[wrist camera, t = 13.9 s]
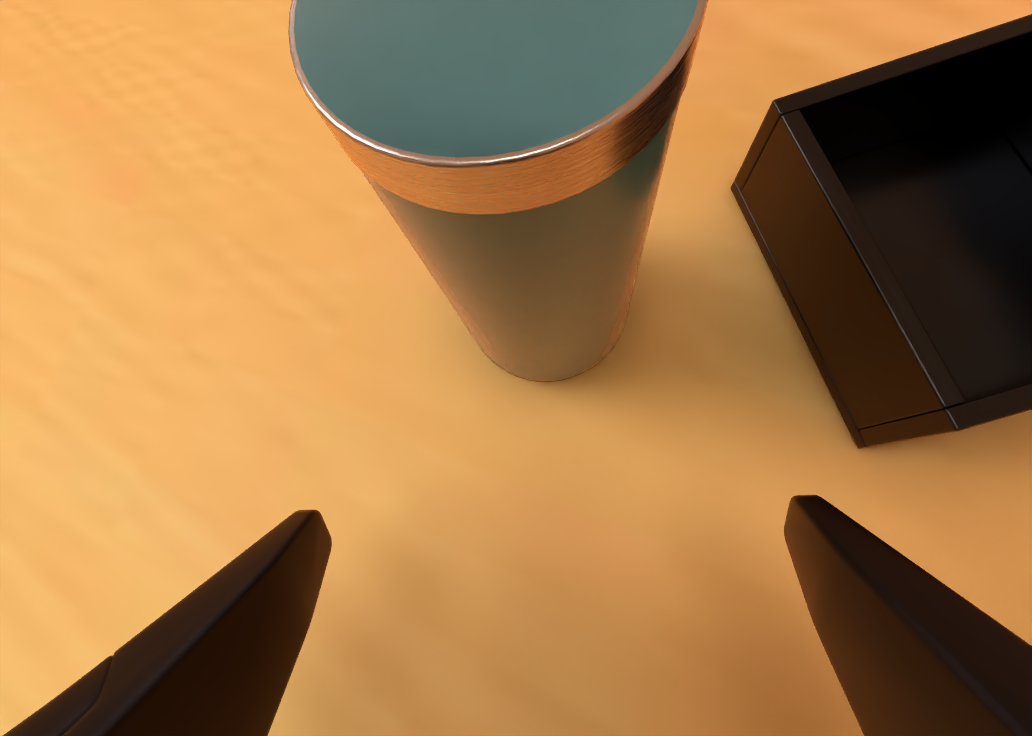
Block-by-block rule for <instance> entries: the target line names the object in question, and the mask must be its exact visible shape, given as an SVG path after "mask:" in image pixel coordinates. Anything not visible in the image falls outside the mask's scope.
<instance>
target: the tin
mask: <svg viewBox="0 0 1032 736" xmlns="http://www.w3.org/2000/svg"><path fill="white" fill-rule="evenodd" d="M707 3H708V0H292V4H291V8H290V15H289V42H290V52H291V57H292V61H293V64H294V68H295V71H296V75H297V77H298V79H299V81H300V84H301V86H302V88H303V90H304V92H305V94H306V96H307V97H308V99H309V100H310V101H311V103H312V104H313V106H314V107H315V109H316V110H317V112H318V113H319V115H320V116H321V117H322V119H323V120H324V122H325V123H326V125H327V126H328V128H329V129H330V131H331V132H332V134H333V135H334V136H335V138H336V139H337V141H338V142H339V144H340V145H341V147H342V148H343V149H344V151H345V152H346V154H347V155H348V156H349V158H350V159H351V161H352V162H353V163H354V164H355V165H356V166H357V167H358V168H359V169H360V170H361V171H362V172H363V174H364V175H365V177H366V178H367V180H368V181H369V183H370V184H371V186H372V187H373V189H374V190H375V192H376V193H377V195H378V196H379V198H380V199H381V201H382V202H383V204H384V205H385V207H386V208H387V210H388V211H389V213H390V214H391V215H392V217H393V218H394V220H395V221H396V223H397V224H398V226H399V227H400V229H401V230H402V232H403V233H404V235H405V236H406V238H407V239H408V241H409V242H410V244H411V245H412V247H413V248H414V250H415V251H416V253H417V254H418V255H419V257H420V258H421V260H422V261H423V263H424V264H425V266H426V267H427V269H428V270H429V272H430V273H431V275H432V276H433V278H434V279H435V281H436V282H437V284H438V285H439V287H440V288H441V290H442V291H443V293H444V294H445V295H446V297H447V298H448V300H449V301H450V303H451V304H452V306H453V307H454V309H455V310H456V312H457V313H458V315H459V316H460V318H461V319H462V321H463V322H464V324H465V325H466V327H467V328H468V330H469V331H470V333H471V334H472V336H473V337H474V338H475V340H476V341H477V343H478V344H479V346H480V347H481V349H482V350H483V351H484V353H485V354H486V355H487V356H488V357H489V358H490V359H491V361H493V362H494V363H495V364H496V365H498V366H499V367H500V368H502V369H504V370H505V371H507V372H509V373H511V374H513V375H515V376H518V377H521V378H525V379H529V380H535V381H555V380H562V379H566V378H570V377H573V376H576V375H578V374H581V373H583V372H585V371H587V370H588V369H590V368H592V367H593V366H594V365H596V364H597V363H599V362H600V361H601V360H602V359H603V358H604V357H605V356H606V355H607V354H608V353H609V352H610V351H611V349H612V348H613V347H614V345H615V344H616V342H617V340H618V339H619V337H620V334H621V332H622V330H623V327H624V323H625V320H626V316H627V312H628V308H629V304H630V300H631V296H632V292H633V288H634V284H635V280H636V275H637V271H638V267H639V263H640V259H641V255H642V251H643V247H644V243H645V239H646V235H647V231H648V227H649V223H650V219H651V215H652V211H653V206H654V202H655V198H656V194H657V190H658V186H659V182H660V178H661V174H662V170H663V166H664V162H665V158H666V154H667V150H668V146H669V142H670V138H671V133H672V129H673V125H674V121H675V117H676V113H677V109H678V105H679V101H680V97H681V95H682V93H683V91H684V89H685V87H686V83H687V80H688V76H689V73H690V69H691V66H692V62H693V58H694V54H695V50H696V46H697V42H698V38H699V34H700V30H701V27H702V23H703V19H704V15H705V11H706V7H707Z"/></svg>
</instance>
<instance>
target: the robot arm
mask: <svg viewBox="0 0 1032 736" xmlns="http://www.w3.org/2000/svg"><path fill="white" fill-rule="evenodd" d="M784 536H785V540H786V543H787V546H788V549H789V552H790V555H791V558H792V561H793V564H794V567H795V570H796V573H797V576H798V579H799V582H800V585H801V588H802V591H803V594H804V597H805V600H806V603H807V606H808V609H809V612H810V615H811V618H812V621H813V623H814V626H815V628H816V631H817V633H818V635H819V638H820V640H821V642H822V644H823V646H824V649H825V651H826V653H827V655H828V657H829V660H830V662H831V664H832V666H833V668H834V670H835V673H836V675H837V677H838V679H839V681H840V684H841V686H842V688H843V690H844V692H845V695H846V697H847V699H848V701H849V703H850V705H851V708H852V710H853V712H854V714H855V716H856V719H857V721H858V723H859V725H860V727H861V730H862V732H863V734H864V736H1032V646H1031V645H1030V644H1028V643H1027V642H1025V641H1024V640H1022V639H1021V638H1020V637H1018V636H1017V635H1015V634H1014V633H1013V632H1011V631H1010V630H1008V629H1007V628H1005V627H1004V626H1003V625H1001V624H1000V623H998V622H997V621H996V620H994V619H993V618H991V617H990V616H988V615H987V614H986V613H984V612H983V611H981V610H980V609H979V608H977V607H976V606H974V605H973V604H972V603H970V602H969V601H967V600H966V599H964V598H963V597H962V596H960V595H959V594H957V593H956V592H955V591H953V590H952V589H950V588H949V587H947V586H946V585H945V584H943V583H942V582H940V581H939V580H938V579H936V578H935V577H933V576H932V575H930V574H929V573H928V572H926V571H925V570H923V569H922V568H921V567H919V566H918V565H916V564H915V563H913V562H912V561H911V560H909V559H908V558H906V557H905V556H904V555H902V554H901V553H899V552H898V551H897V550H895V549H894V548H892V547H891V546H889V545H888V544H887V543H885V542H884V541H882V540H881V539H880V538H878V537H877V536H875V535H874V534H872V533H871V532H870V531H868V530H867V529H865V528H864V527H863V526H861V525H860V524H858V523H857V522H855V521H854V520H853V519H851V518H850V517H848V516H847V515H846V514H844V513H843V512H841V511H840V510H838V509H837V508H836V507H834V506H833V505H831V504H830V503H829V502H827V501H826V500H824V499H823V498H821V497H819V496H817V495H797V496H793V497H792V498H791V500H790V503H789V508H788V512H787V517H786V521H785V526H784ZM331 546H332V541H331V536H330V534H329V531H328V529H327V527H326V524H325V522H324V520H323V518H322V515H321V513H320V512H319V511H317V510H299V511H296V512H295V513H293V514H292V515H290V516H289V517H288V518H287V519H285V520H284V521H283V522H281V523H280V524H279V525H278V526H276V527H275V528H274V529H272V530H271V531H270V532H269V533H267V534H266V535H265V536H263V537H262V538H261V539H260V540H258V541H257V542H256V543H254V544H253V545H252V546H251V547H249V548H248V549H247V550H245V551H244V552H243V553H242V554H240V555H239V556H238V557H236V558H235V559H234V560H233V561H231V562H230V563H229V564H227V565H226V566H225V567H224V568H222V569H221V570H220V571H218V572H217V573H216V574H215V575H213V576H212V577H211V578H209V579H208V580H207V581H206V582H204V583H203V584H202V585H200V586H199V587H198V588H197V589H195V590H194V591H193V592H191V593H190V594H189V595H188V596H186V597H185V598H184V599H182V600H181V601H180V602H179V603H177V604H176V605H175V606H173V607H172V608H171V609H170V610H168V611H167V612H166V613H164V614H163V615H162V616H161V617H159V618H158V619H157V620H155V621H154V622H153V623H152V624H150V625H149V626H148V627H146V628H145V629H144V630H143V631H141V632H140V633H139V634H137V635H136V636H135V637H134V638H132V639H131V640H130V641H128V642H127V643H126V644H125V645H123V646H122V647H121V648H119V649H118V650H117V651H116V652H115V653H114V655H113V656H109V657H108V658H106V659H105V660H104V661H103V662H101V663H100V664H99V665H97V666H96V667H95V668H94V669H92V670H91V671H90V672H88V673H87V674H86V675H84V676H83V677H82V678H81V679H79V680H78V681H77V682H75V683H74V684H73V685H71V686H70V687H69V688H67V689H66V690H65V691H63V692H62V693H61V694H59V695H58V696H57V697H55V698H54V699H53V700H51V701H50V702H49V703H47V704H46V705H45V706H43V707H42V708H40V709H39V710H38V711H36V712H35V713H34V714H32V715H31V716H29V717H28V718H27V719H25V720H24V721H22V722H21V723H20V724H18V725H17V726H15V727H14V728H13V729H11V730H10V731H9V732H7V733H6V734H4V735H3V736H267V735H268V733H269V730H270V728H271V725H272V722H273V720H274V717H275V715H276V712H277V709H278V707H279V704H280V702H281V699H282V696H283V694H284V691H285V689H286V686H287V683H288V681H289V678H290V676H291V673H292V671H293V668H294V665H295V663H296V660H297V658H298V655H299V652H300V650H301V647H302V645H303V642H304V639H305V637H306V634H307V631H308V629H309V626H310V623H311V620H312V616H313V613H314V610H315V606H316V602H317V599H318V595H319V591H320V588H321V584H322V581H323V577H324V573H325V570H326V566H327V563H328V559H329V555H330V552H331Z"/></svg>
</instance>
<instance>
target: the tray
mask: <svg viewBox="0 0 1032 736" xmlns="http://www.w3.org/2000/svg"><path fill="white" fill-rule="evenodd" d="M731 190H732V192H733V194H734V196H735V198H736V200H737V202H738V204H739V206H740V208H741V211H742V213H743V215H744V217H745V219H746V221H747V223H748V225H749V227H750V229H751V231H752V233H753V235H754V237H755V239H756V241H757V243H758V245H759V247H760V249H761V251H762V253H763V255H764V257H765V259H766V261H767V264H768V266H769V268H770V270H771V272H772V274H773V276H774V278H775V280H776V282H777V284H778V286H779V288H780V290H781V292H782V294H783V296H784V298H785V300H786V302H787V304H788V306H789V308H790V310H791V312H792V314H793V316H794V319H795V321H796V323H797V325H798V327H799V329H800V331H801V333H802V335H803V337H804V339H805V341H806V343H807V345H808V347H809V349H810V351H811V353H812V355H813V357H814V359H815V361H816V363H817V365H818V367H819V369H820V372H821V374H822V376H823V378H824V380H825V382H826V384H827V386H828V388H829V390H830V392H831V394H832V396H833V398H834V400H835V402H836V404H837V406H838V408H839V410H840V412H841V414H842V416H843V418H844V420H845V422H846V424H847V427H848V429H849V431H850V433H851V435H852V437H853V439H854V441H855V443H856V445H857V447H858V448H866V447H871V446H877V445H882V444H888V443H894V442H899V441H905V440H911V439H916V438H922V437H928V436H933V435H939V434H945V433H950V432H956V431H960V430H964V429H967V428H971V427H974V426H977V425H981V424H984V423H988V422H991V421H994V420H998V419H1001V418H1005V417H1008V416H1012V415H1015V414H1018V413H1022V412H1025V411H1029V410H1032V14H1031V15H1028V16H1025V17H1022V18H1019V19H1016V20H1013V21H1010V22H1007V23H1004V24H1001V25H998V26H995V27H992V28H989V29H986V30H983V31H980V32H977V33H974V34H971V35H968V36H965V37H962V38H959V39H956V40H953V41H950V42H947V43H944V44H941V45H938V46H935V47H932V48H929V49H926V50H923V51H920V52H917V53H914V54H911V55H908V56H905V57H902V58H899V59H896V60H893V61H890V62H887V63H884V64H881V65H878V66H875V67H872V68H869V69H866V70H863V71H860V72H857V73H854V74H851V75H848V76H845V77H842V78H839V79H835V80H832V81H829V82H826V83H823V84H820V85H817V86H814V87H811V88H808V89H805V90H802V91H799V92H796V93H793V94H790V95H787V96H784V97H781V98H778V99H775V100H774V101H773V102H772V104H771V106H770V108H769V110H768V112H767V114H766V116H765V118H764V120H763V122H762V124H761V126H760V129H759V131H758V133H757V135H756V137H755V139H754V141H753V143H752V145H751V147H750V149H749V151H748V153H747V155H746V158H745V160H744V162H743V164H742V166H741V168H740V170H739V172H738V174H737V176H736V178H735V181H734V182H733V184H732V186H731Z"/></svg>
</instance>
